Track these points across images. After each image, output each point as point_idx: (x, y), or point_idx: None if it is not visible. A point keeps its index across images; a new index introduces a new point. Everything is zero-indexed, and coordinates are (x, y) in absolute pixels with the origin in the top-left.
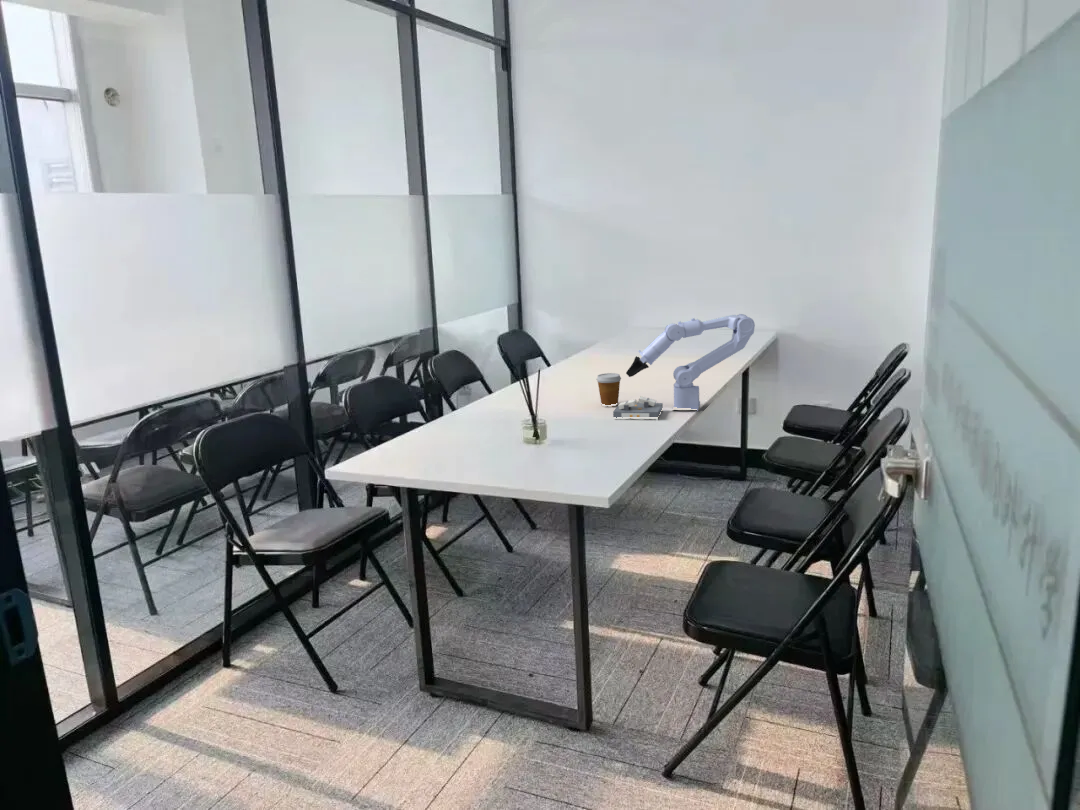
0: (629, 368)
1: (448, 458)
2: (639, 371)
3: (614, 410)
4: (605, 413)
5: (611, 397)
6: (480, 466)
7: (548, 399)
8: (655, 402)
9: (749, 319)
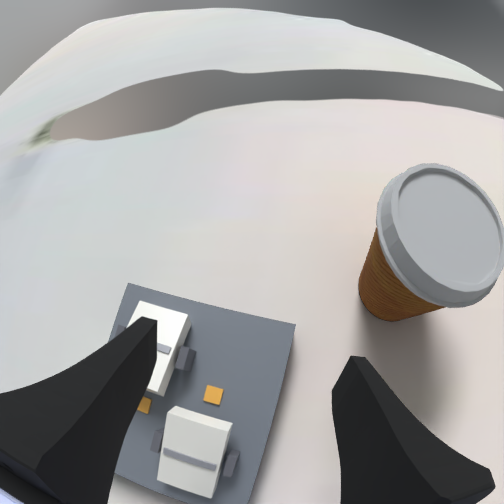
0: (105, 345)
1: (52, 70)
2: (342, 469)
3: (145, 289)
4: (252, 268)
5: (367, 281)
6: (6, 109)
7: (448, 121)
8: (188, 487)
9: None
